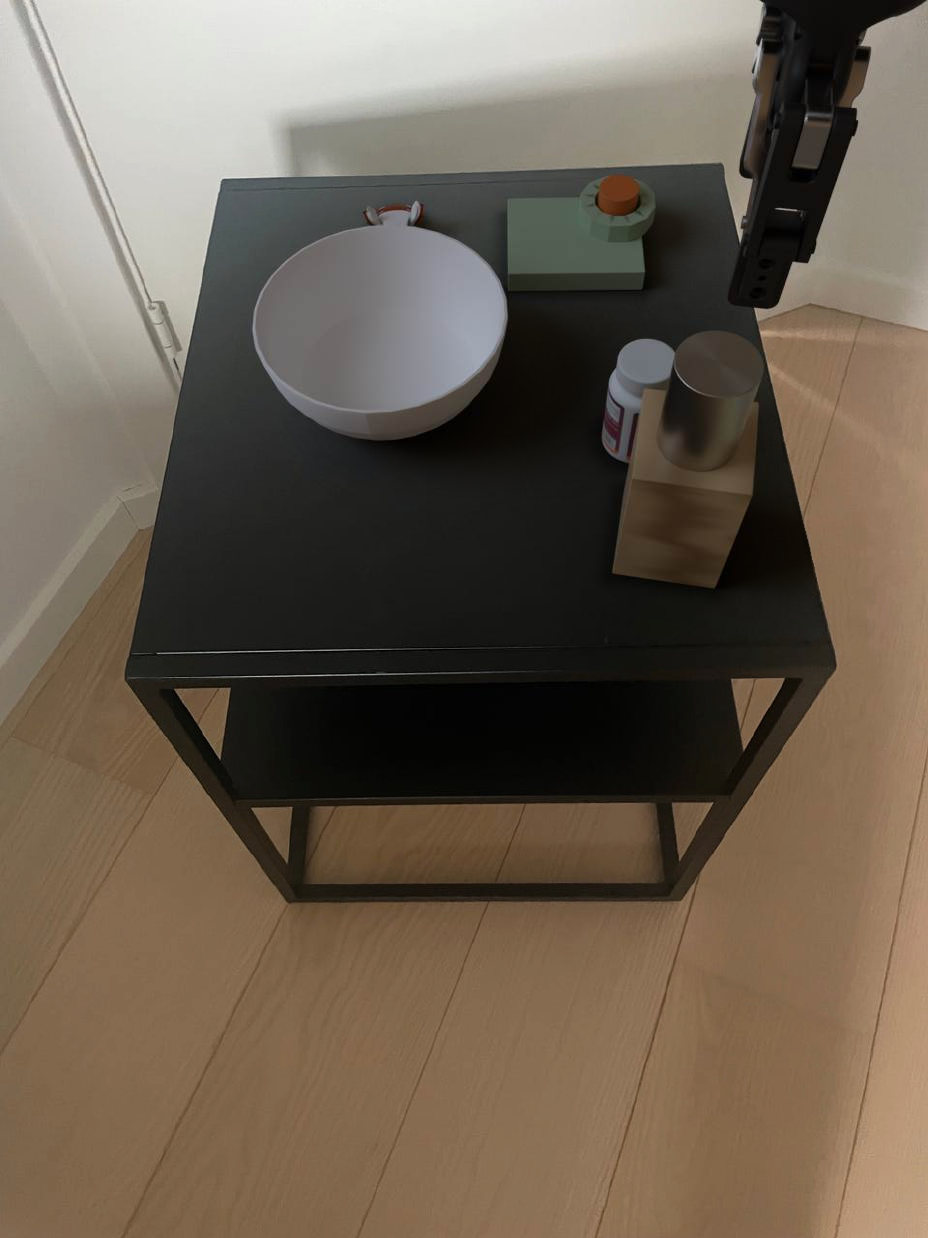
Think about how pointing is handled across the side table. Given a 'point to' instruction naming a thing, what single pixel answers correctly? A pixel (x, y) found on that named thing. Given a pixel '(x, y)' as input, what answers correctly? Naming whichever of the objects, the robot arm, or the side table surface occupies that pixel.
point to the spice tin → (708, 399)
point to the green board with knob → (576, 243)
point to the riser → (681, 506)
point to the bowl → (381, 330)
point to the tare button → (618, 195)
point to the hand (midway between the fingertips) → (756, 235)
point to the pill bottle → (633, 391)
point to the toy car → (395, 215)
